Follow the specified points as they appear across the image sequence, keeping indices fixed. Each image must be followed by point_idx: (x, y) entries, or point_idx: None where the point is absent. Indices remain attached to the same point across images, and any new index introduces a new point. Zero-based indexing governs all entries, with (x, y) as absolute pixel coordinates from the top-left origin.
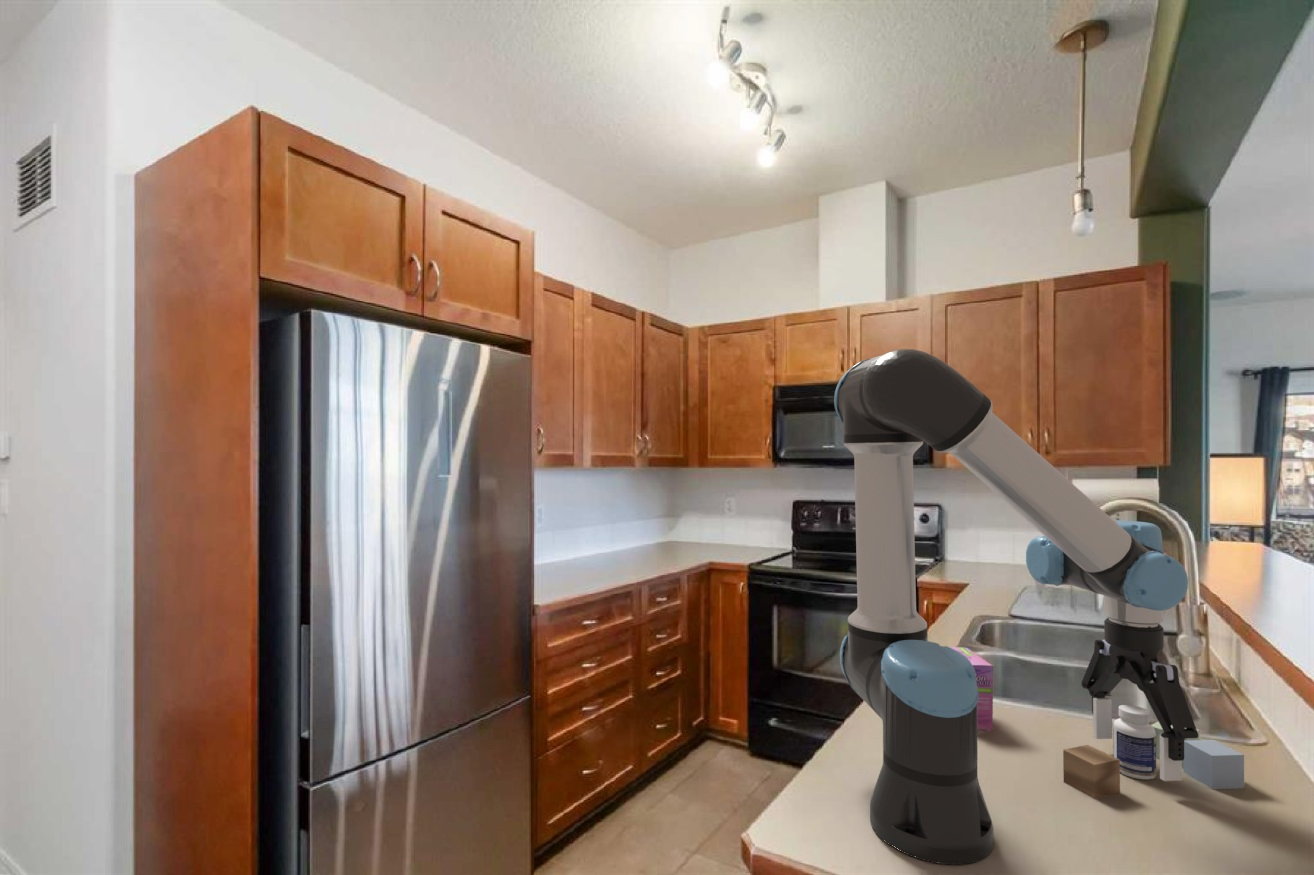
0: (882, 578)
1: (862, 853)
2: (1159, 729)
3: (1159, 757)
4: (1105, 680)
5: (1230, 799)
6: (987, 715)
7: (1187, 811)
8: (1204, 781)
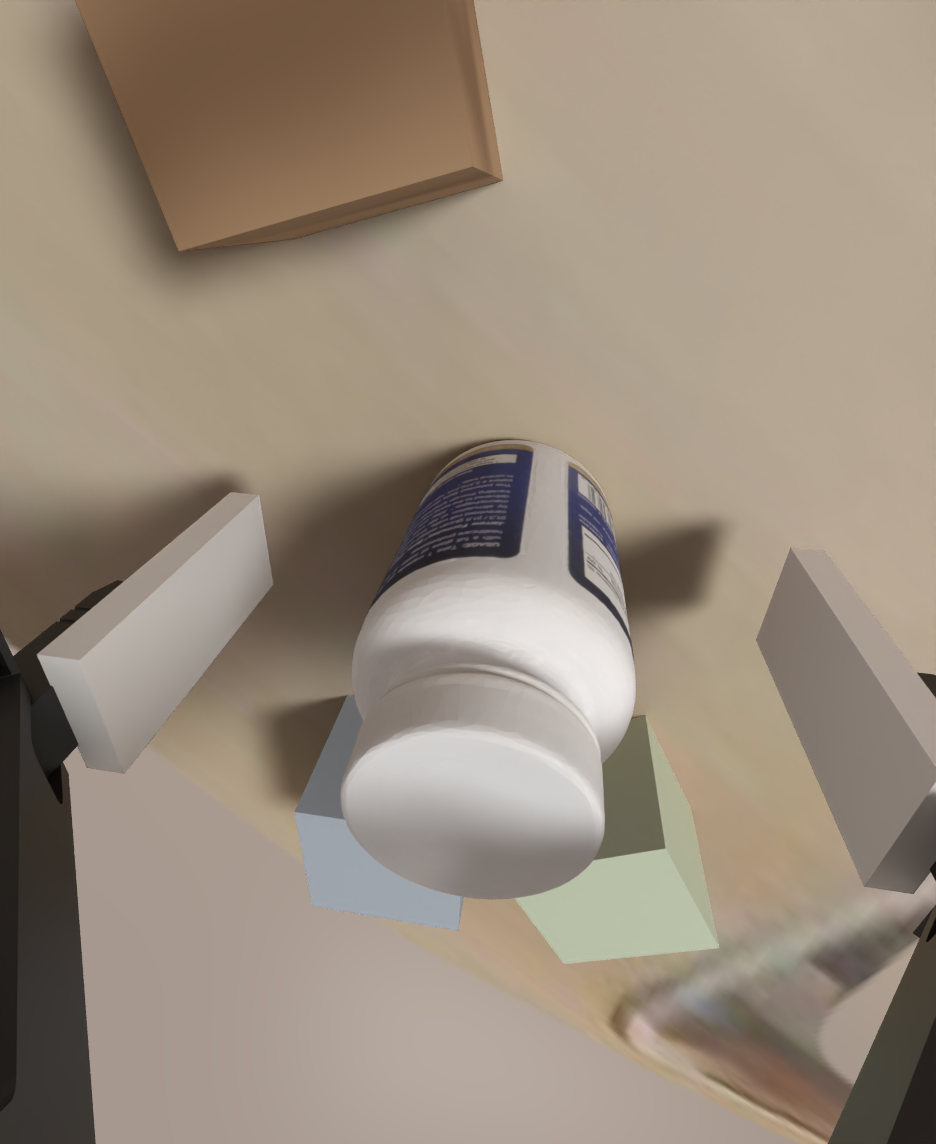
0: None
1: None
2: (618, 853)
3: None
4: (930, 1110)
5: (272, 686)
6: None
7: (148, 452)
8: None
